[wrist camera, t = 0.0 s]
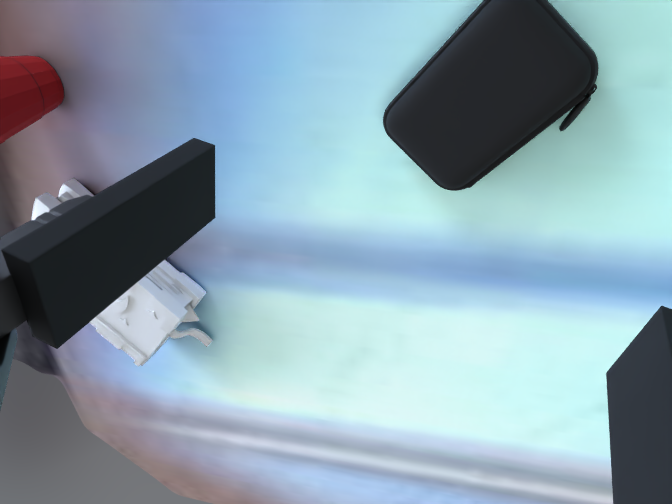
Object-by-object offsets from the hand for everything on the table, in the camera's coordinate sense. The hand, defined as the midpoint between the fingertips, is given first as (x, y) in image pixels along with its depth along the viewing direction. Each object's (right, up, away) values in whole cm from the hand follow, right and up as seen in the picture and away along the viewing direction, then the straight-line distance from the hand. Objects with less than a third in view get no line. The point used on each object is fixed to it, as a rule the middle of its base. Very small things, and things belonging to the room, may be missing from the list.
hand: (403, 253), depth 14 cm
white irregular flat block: (-30, -4, +55) cm, 63 cm away
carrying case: (+10, +12, +24) cm, 28 cm away
